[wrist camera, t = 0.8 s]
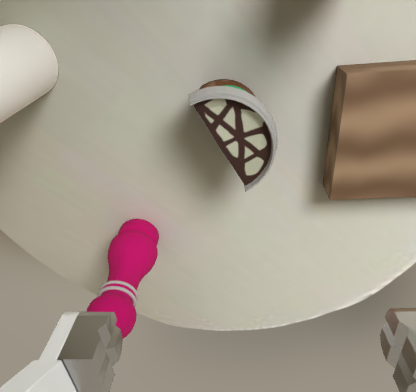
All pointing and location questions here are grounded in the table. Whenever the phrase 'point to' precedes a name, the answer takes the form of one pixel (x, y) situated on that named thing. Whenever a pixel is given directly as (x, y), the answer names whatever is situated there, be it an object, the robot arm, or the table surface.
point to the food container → (238, 127)
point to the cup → (24, 68)
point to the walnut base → (372, 132)
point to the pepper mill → (127, 272)
